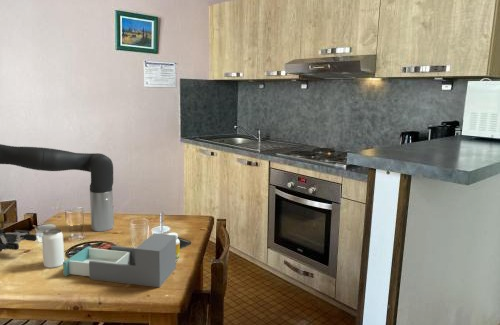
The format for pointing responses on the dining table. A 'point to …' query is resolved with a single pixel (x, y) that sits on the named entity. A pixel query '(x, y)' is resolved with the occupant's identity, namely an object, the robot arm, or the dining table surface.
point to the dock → (140, 263)
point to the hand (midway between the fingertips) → (27, 242)
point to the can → (53, 248)
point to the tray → (81, 260)
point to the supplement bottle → (176, 246)
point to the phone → (183, 242)
